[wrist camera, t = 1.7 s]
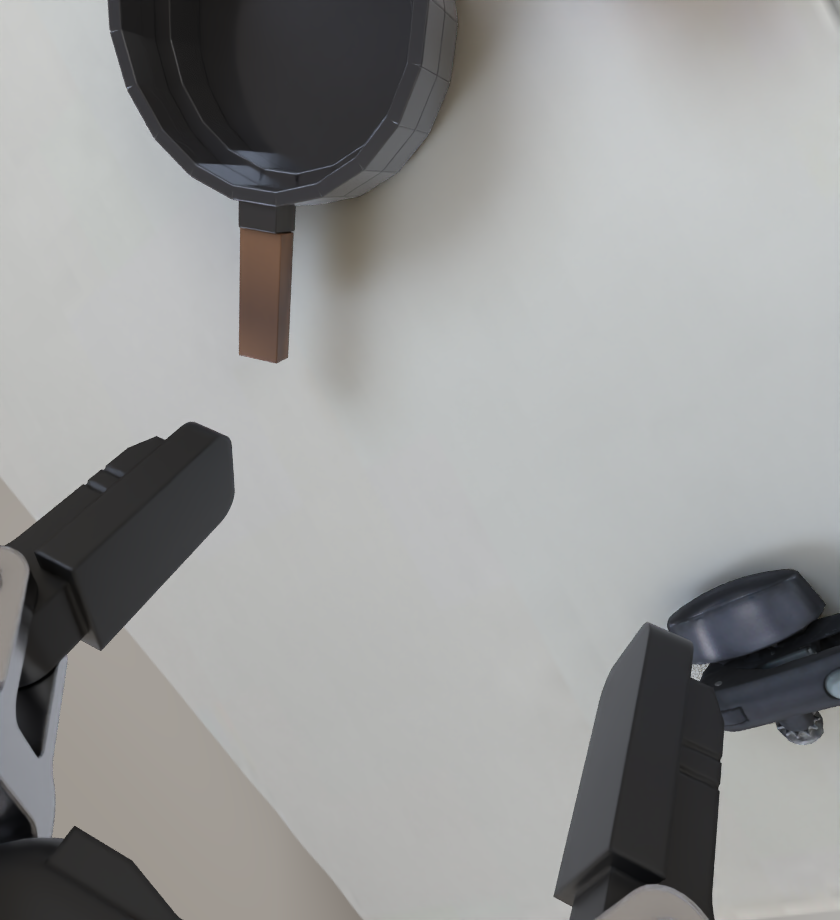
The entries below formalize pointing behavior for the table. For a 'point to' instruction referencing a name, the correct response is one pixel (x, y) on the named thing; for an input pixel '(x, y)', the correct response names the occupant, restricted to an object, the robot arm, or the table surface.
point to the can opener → (766, 652)
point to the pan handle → (265, 280)
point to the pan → (287, 89)
